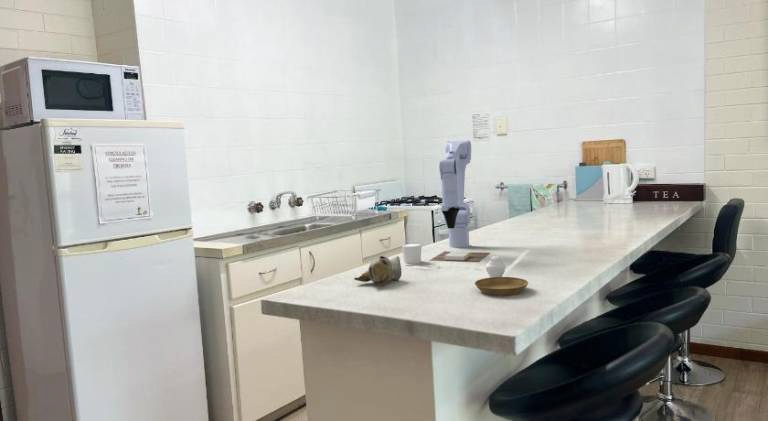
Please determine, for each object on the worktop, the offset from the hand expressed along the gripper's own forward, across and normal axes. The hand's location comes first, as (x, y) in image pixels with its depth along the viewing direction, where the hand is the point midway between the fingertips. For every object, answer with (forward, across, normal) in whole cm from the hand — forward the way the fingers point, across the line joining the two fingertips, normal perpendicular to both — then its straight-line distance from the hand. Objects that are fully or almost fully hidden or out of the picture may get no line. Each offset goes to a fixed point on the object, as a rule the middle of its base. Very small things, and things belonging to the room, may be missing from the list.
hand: (451, 228), depth 221 cm
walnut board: (+10, +6, +5) cm, 13 cm away
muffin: (+11, +33, +24) cm, 42 cm away
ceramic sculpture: (+11, +46, -8) cm, 48 cm away
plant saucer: (+11, +48, +29) cm, 57 cm away
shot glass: (+11, +18, -9) cm, 23 cm away
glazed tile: (+9, +5, +5) cm, 11 cm away
